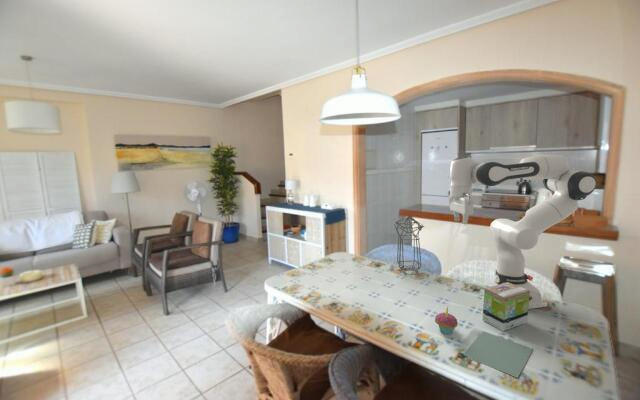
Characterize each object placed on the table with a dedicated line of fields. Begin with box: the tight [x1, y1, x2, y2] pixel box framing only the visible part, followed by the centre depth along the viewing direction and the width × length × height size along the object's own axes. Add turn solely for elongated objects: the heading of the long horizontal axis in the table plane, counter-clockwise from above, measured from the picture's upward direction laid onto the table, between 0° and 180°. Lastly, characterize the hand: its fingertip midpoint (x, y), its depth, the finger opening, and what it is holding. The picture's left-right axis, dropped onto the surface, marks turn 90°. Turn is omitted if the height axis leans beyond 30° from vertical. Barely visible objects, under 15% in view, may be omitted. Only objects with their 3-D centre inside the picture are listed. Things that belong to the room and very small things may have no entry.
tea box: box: [482, 282, 530, 332], centre depth 125 cm, size 15×10×15 cm, turn 114°
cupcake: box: [434, 305, 459, 335], centre depth 121 cm, size 9×8×12 cm
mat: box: [462, 330, 534, 379], centre depth 109 cm, size 20×20×1 cm
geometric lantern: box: [393, 215, 425, 275], centre depth 182 cm, size 16×16×35 cm
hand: (460, 222), depth 137 cm, fingers open, 8 cm apart
